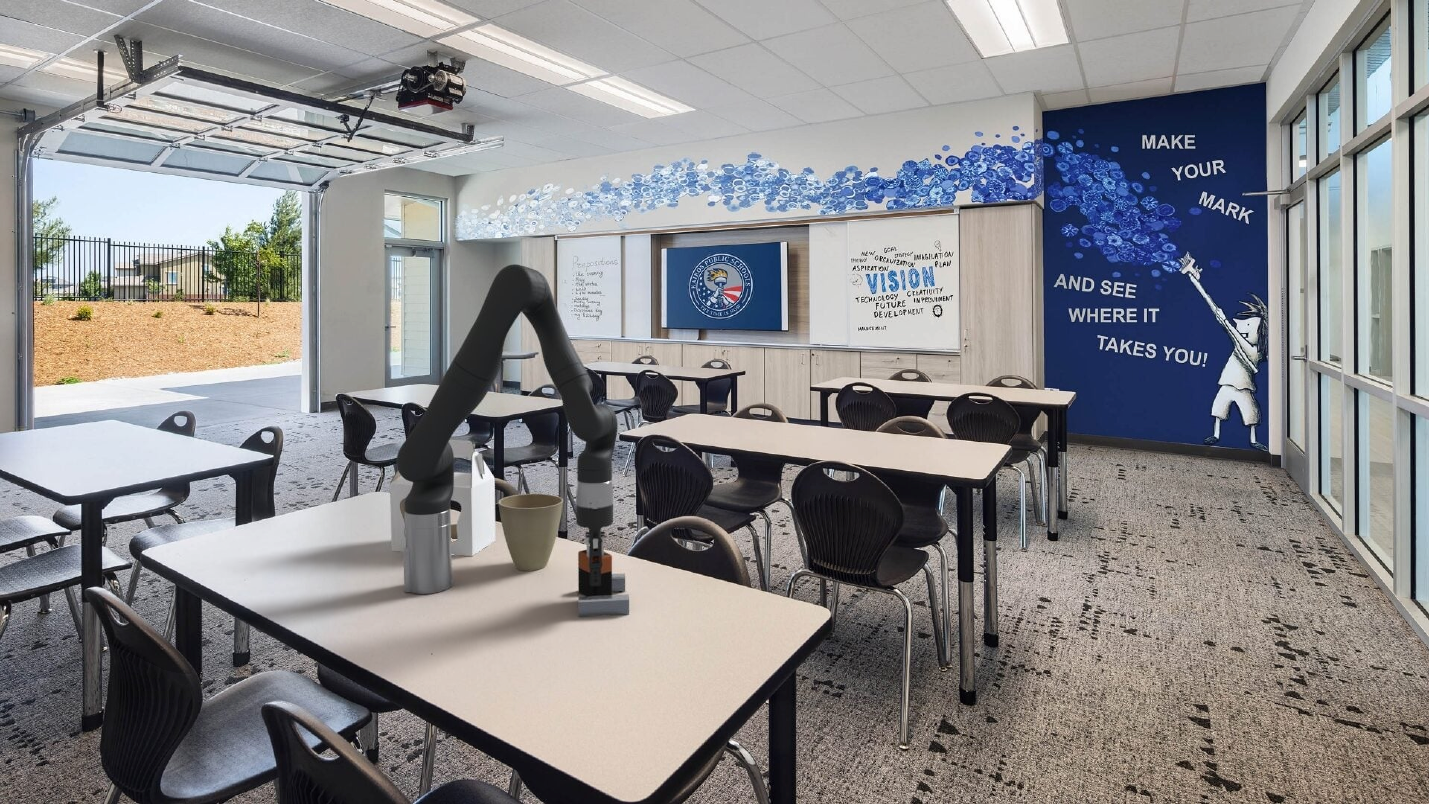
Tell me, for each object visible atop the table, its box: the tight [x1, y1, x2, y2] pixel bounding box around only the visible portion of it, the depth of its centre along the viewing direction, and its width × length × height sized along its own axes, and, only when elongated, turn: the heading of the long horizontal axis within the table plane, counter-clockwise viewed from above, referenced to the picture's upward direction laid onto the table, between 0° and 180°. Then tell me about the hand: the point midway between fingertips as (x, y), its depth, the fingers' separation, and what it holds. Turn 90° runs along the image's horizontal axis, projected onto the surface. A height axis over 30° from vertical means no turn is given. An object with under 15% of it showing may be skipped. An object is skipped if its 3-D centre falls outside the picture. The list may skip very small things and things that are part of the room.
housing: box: [577, 573, 630, 618], centre depth 157 cm, size 10×15×3 cm, turn 10°
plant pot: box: [498, 493, 564, 572], centre depth 179 cm, size 15×15×16 cm
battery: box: [577, 548, 613, 597], centre depth 156 cm, size 4×7×10 cm, turn 41°
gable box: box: [389, 439, 496, 557], centre depth 193 cm, size 22×13×28 cm, turn 81°
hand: (595, 578), depth 156 cm, fingers closed on battery, 8 cm apart
